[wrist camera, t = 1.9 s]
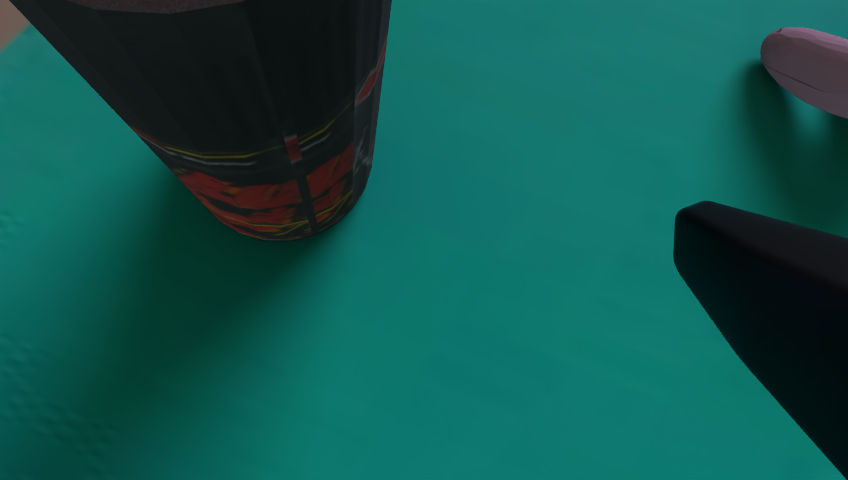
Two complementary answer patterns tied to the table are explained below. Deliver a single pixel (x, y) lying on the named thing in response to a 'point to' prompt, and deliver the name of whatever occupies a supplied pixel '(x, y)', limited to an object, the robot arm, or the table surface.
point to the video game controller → (809, 66)
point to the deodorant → (239, 96)
